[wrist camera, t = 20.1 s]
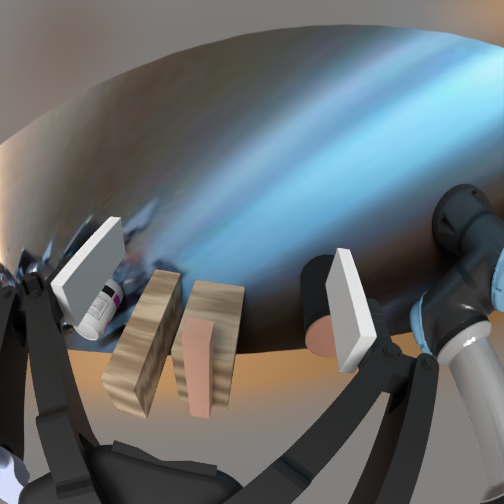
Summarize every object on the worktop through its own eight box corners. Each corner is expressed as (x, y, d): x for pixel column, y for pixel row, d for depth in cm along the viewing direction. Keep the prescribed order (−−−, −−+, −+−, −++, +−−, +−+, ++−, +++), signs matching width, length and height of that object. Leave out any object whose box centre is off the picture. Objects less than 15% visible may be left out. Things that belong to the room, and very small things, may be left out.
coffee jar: (312, 298, 64) (318, 363, 49) (291, 264, 59) (294, 331, 45) (356, 280, 61) (374, 344, 46) (339, 243, 56) (357, 307, 41)
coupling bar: (188, 317, 42) (181, 337, 38) (214, 321, 42) (209, 342, 38) (194, 400, 57) (191, 415, 54) (212, 403, 57) (209, 418, 54)
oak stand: (155, 269, 63) (100, 380, 38) (245, 283, 63) (226, 409, 38) (163, 329, 75) (129, 426, 50) (237, 342, 75) (221, 447, 50)
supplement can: (130, 296, 69) (107, 340, 57) (110, 302, 71) (86, 343, 59) (111, 272, 65) (83, 314, 53) (92, 280, 67) (64, 320, 55)
